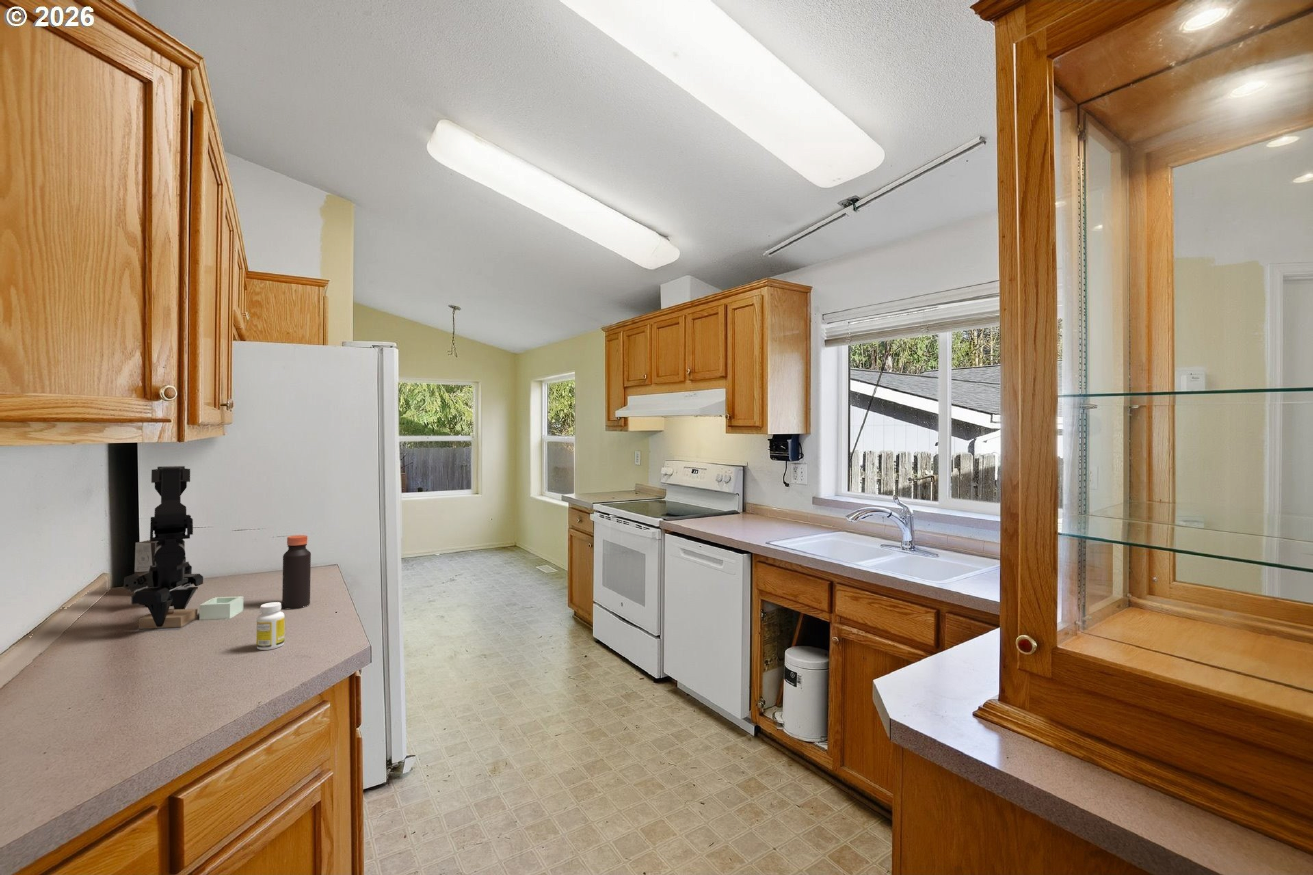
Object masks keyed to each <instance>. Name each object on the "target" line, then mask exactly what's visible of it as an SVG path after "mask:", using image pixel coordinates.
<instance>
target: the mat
mask: <svg viewBox="0 0 1313 875" xmlns="http://www.w3.org/2000/svg"><path fill="white" fill-rule="evenodd" d="M198 620H199V616H197V619H195V620H193V621H191V622H189V623H187V624H186V625H184V626H182V627H172V628H151V629H139V628H138V629H135V630H133V631H132V633H140V632H141V633H142V632H160V631H161V632H162V631H179V630H182V629H183V628H186V627H187V626H189V625H191V624H192V623H194V622H196V621H198Z"/></svg>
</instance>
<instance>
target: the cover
mask: <svg viewBox="0 0 1313 875" xmlns="http://www.w3.org/2000/svg"><path fill="white" fill-rule="evenodd" d="M197 617H198V608H185V609H178V610H174V608H169V610H168V613H167V616H166V618H165V621H164V623H163V626H161V627H157V626H156V624H155V622H154V620H153V617H152V615H151V613H149V614H147V615H144V616H143V617H140V618H138V629H151V628H172V627H182V626H184V625H186V624H187V623H189V622H191V621H193V620H195V619H197Z"/></svg>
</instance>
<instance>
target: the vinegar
mask: <svg viewBox="0 0 1313 875" xmlns="http://www.w3.org/2000/svg"><path fill="white" fill-rule="evenodd" d="M286 545H287V546H286V547H287V548H288V549H287V551H285V553H284V554H283V555H282V589H281V590H282V592H281V594H282V595H281V597H282V598H281V600H282V601H281V602H282V603H281V608H283V609H285V608H297V609H302V608H304V607H303V606H306V607H308V606H309V605H310V604H311V568H312V567H311V563H312V562H311V561H312V560H311V559H312V558H311V557H312V554H311V551H309V549H307V546H308V535H306V534H305V535H304V534H302V535H301V534H298V535H297V534H295V535H290V536H287V538H286ZM307 605H308V606H307ZM301 607H302V608H301Z"/></svg>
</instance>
